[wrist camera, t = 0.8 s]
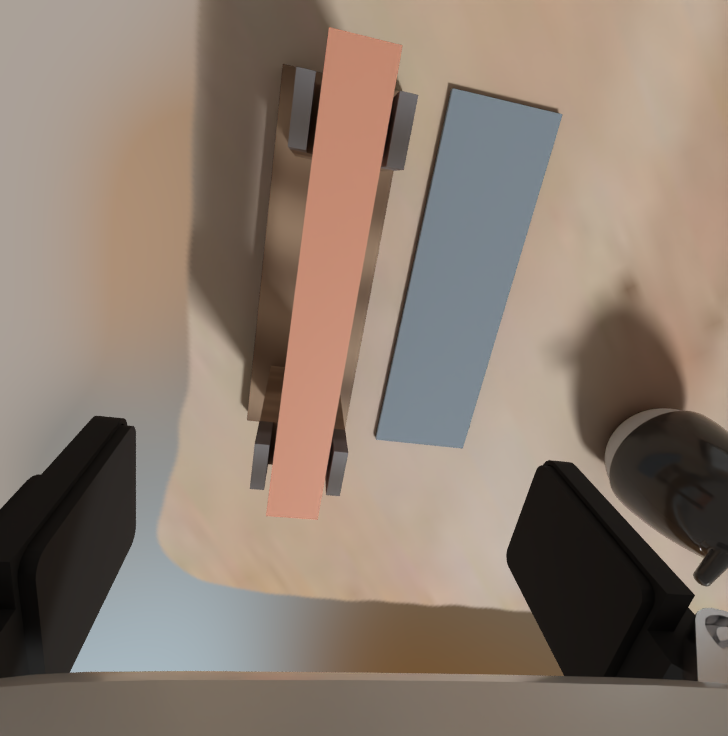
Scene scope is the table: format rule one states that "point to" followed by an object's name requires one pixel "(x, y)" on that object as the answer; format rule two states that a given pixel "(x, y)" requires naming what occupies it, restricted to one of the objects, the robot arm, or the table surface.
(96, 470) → the robot arm
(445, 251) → the mat
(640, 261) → the table surface
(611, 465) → the pump dispenser
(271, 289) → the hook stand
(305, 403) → the rail
